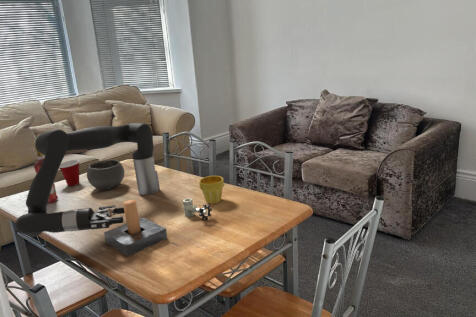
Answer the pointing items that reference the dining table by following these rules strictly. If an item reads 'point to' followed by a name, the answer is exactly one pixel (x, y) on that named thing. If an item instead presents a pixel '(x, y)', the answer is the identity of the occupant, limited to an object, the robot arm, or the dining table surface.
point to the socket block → (135, 237)
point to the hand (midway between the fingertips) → (125, 214)
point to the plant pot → (212, 188)
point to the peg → (132, 217)
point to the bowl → (105, 174)
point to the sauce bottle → (37, 166)
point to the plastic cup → (70, 172)
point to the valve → (195, 209)
